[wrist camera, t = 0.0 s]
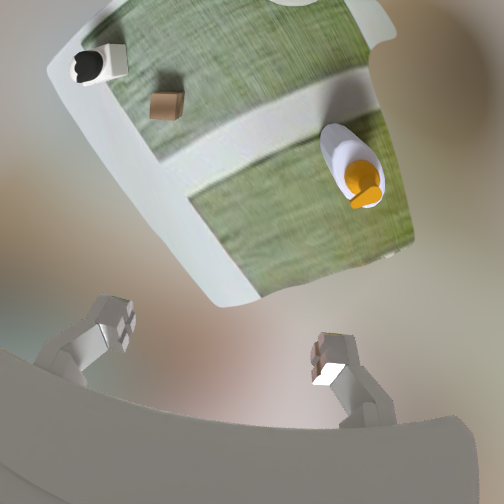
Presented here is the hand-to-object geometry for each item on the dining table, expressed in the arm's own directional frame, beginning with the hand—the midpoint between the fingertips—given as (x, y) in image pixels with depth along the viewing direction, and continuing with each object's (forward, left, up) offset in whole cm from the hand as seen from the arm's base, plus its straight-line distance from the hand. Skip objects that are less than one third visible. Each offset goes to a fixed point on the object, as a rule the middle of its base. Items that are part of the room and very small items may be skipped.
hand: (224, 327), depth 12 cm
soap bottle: (+3, +17, -48) cm, 51 cm away
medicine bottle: (-9, -32, -48) cm, 59 cm away
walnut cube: (-1, -18, -48) cm, 51 cm away
